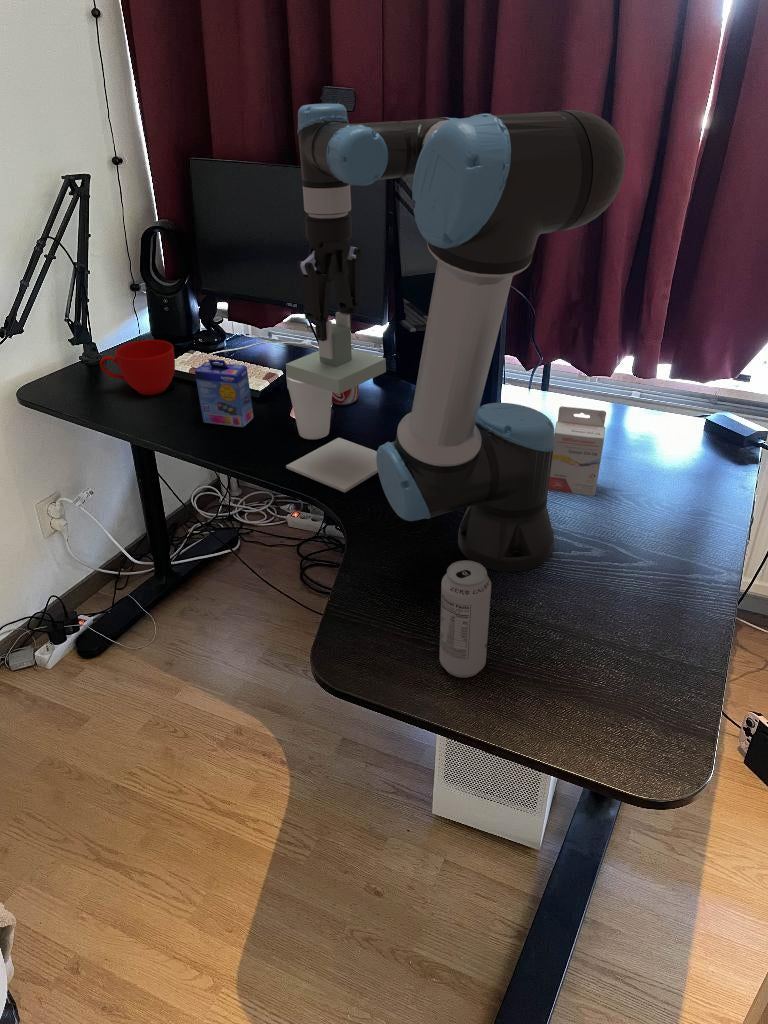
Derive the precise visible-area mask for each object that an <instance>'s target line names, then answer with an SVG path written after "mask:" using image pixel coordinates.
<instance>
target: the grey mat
mask: <svg viewBox="0 0 768 1024" xmlns="http://www.w3.org/2000/svg"><path fill="white" fill-rule="evenodd" d="M376 455H377V450H374V449H372V448H369V447H366V446H364V445H361V444H357V443H355V442H352V441H349V440H347V439H344V438H342V437H337V438H335V439H333V440H331V441H330V442H328V443H326V444H324V445H322V446H320V447H318V448H317V449H315V450H313V451H311V452H309V453H307V454H305V455H304V456H302V457H299V458H298V459H296V460H294V461H292V462H290V463H288V464H286V465H285V468H286V469H288V470H289V471H292V472H295V473H297V474H299V475H302V476H304V477H307V478H309V479H311V480H312V481H313V480H314V481H316V482H319V483H321V484H323V485H325V486H328V487H330V488H332V489H336V490H338V491H340V492H342V493H347V492H349V491H350V490H351V489H353V488H355V487H356V486H358V485H360V484H362V483H363V482H364V481H366V480H368V479H370V478H371V477H373V476H374V475H377V473H378V469H377V462H376Z"/></svg>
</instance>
